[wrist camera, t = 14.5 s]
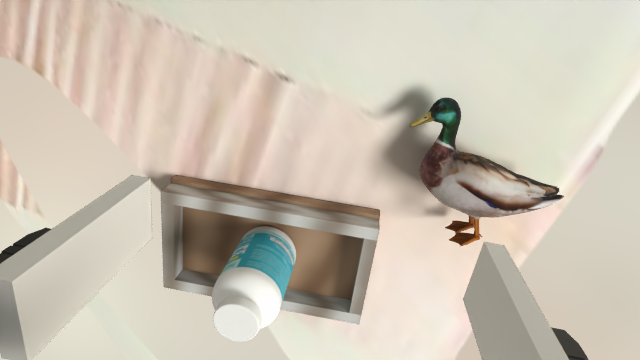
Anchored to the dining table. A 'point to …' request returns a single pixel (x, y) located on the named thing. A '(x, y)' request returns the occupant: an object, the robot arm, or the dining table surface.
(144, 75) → the dining table surface
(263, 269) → the pill bottle
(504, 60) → the dining table surface
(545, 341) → the robot arm
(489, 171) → the decorative duck model
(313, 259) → the grey rimmed shallow tray
